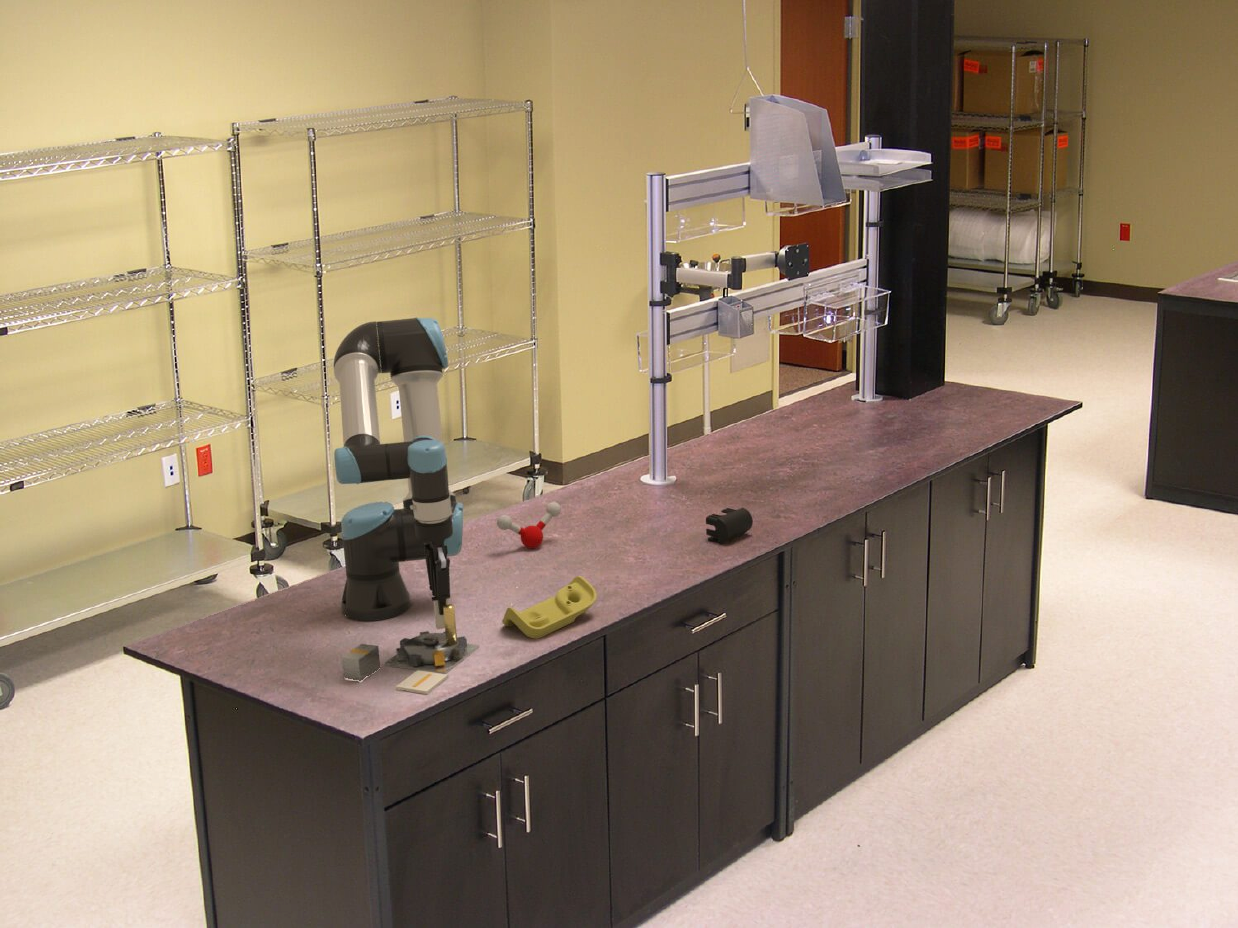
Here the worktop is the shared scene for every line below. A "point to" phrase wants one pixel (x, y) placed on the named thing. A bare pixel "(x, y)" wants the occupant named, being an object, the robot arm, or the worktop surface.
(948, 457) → the worktop surface
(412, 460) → the robot arm
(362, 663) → the link block
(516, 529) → the molecular model
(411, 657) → the sprocket
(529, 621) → the plastic component
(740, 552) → the worktop surface
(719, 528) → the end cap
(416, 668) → the sprocket base
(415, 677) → the marked pad
